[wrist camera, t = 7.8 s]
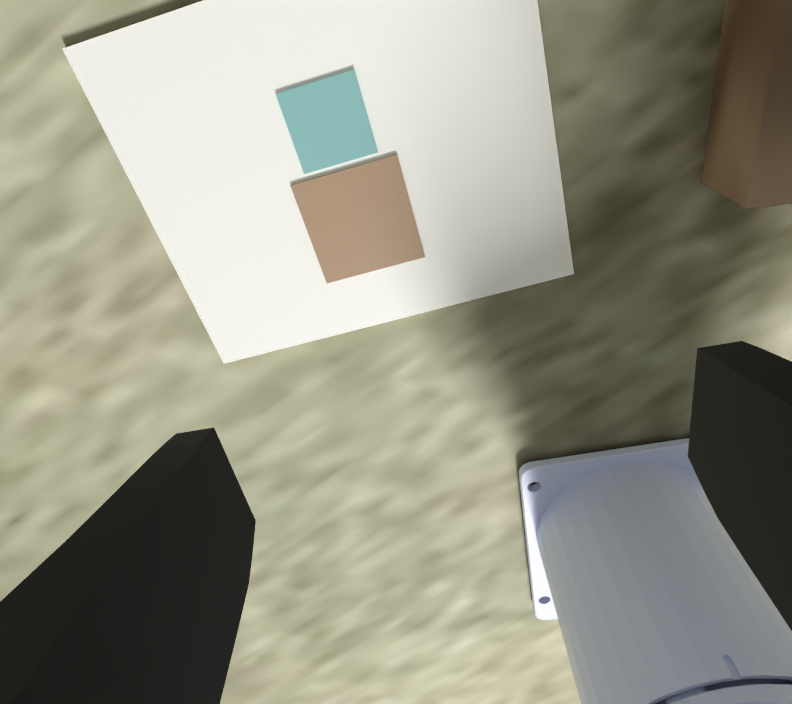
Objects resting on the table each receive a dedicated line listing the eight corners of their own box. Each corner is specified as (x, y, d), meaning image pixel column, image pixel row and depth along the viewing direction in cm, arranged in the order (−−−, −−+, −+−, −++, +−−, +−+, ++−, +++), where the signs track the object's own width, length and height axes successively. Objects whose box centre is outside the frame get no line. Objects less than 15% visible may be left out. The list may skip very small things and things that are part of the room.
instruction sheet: (572, 271, 19) (575, 275, 19) (225, 360, 20) (222, 365, 20) (520, -109, 14) (523, -110, 14) (65, 48, 15) (60, 48, 15)
